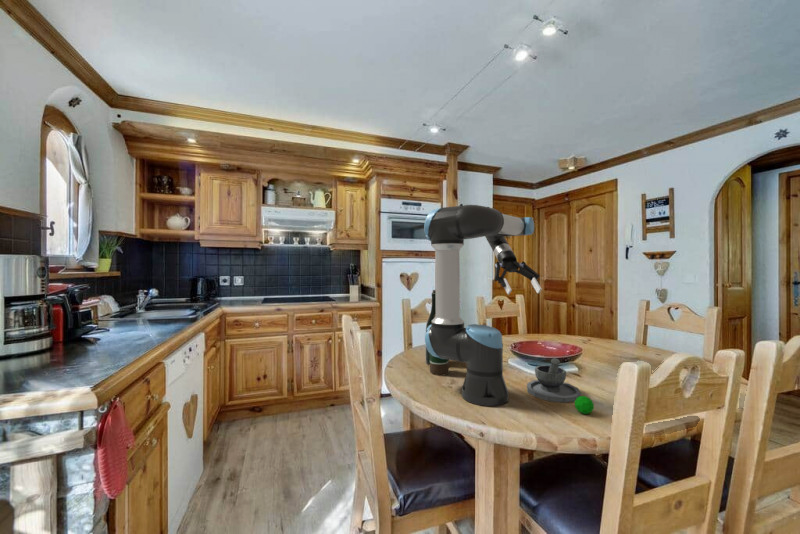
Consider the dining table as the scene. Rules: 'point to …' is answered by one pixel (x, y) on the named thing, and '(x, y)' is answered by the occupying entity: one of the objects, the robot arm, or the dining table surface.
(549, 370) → the mortar and pestle
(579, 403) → the polyhedron
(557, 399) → the gray plate
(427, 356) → the wine bottle
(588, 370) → the dining table surface
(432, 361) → the beer bottle
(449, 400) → the dining table surface
